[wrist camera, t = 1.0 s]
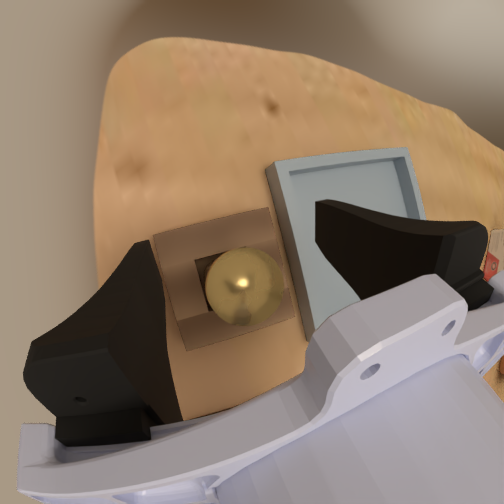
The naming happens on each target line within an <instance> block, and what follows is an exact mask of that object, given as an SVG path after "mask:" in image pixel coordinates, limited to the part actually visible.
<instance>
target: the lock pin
mask: <svg viewBox="0 0 504 504" xmlns="http://www.w3.org/2000/svg"><path fill="white" fill-rule="evenodd" d="M204 282H205V292H206V297H207V299H208V302H209V304H210V306H211V307H212V309H213V310H214V311H215V313H216V314H217V315H218V316H219V317H220V318H222V319H223V320H224V321H226V322H228V323H230V324H233V325H236V326H252V325H256V324H259V323H261V322H263V321H265V320H266V319H268V318H269V317H270V316H271V315H272V314H273V313H274V312H275V311H276V309H277V308H278V306H279V304H280V302H281V300H282V297H283V292H284V280H283V275H282V272H281V270H280V268H279V266H278V264H277V263H276V262H275V260H274V259H273V258H272V257H271V256H269V255H268V254H267V253H265V252H263V251H261V250H258V249H255V248H248V247H245V248H236V249H232V250H229V251H227V252H225V253H223V254H222V255H220V256H219V257H218V258H217V259H216V260H213V261H212V262H210V263H209V264H208V265H207V267H206V269H205V272H204Z"/></svg>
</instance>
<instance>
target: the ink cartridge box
mask: <svg viewBox="0 0 504 504" xmlns="http://www.w3.org/2000/svg"><path fill="white" fill-rule="evenodd" d="M501 270H503V271H504V229H496V230H492V231H491V237H490V242H489V248H488V253H487V258H486V263H485V267H484V274H485V275H484V278H485V279H486V281H487V282H488V281H489V279H490V278H491V277H492V276H494V275H495V274H497V273H498V272H499V271H501Z"/></svg>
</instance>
